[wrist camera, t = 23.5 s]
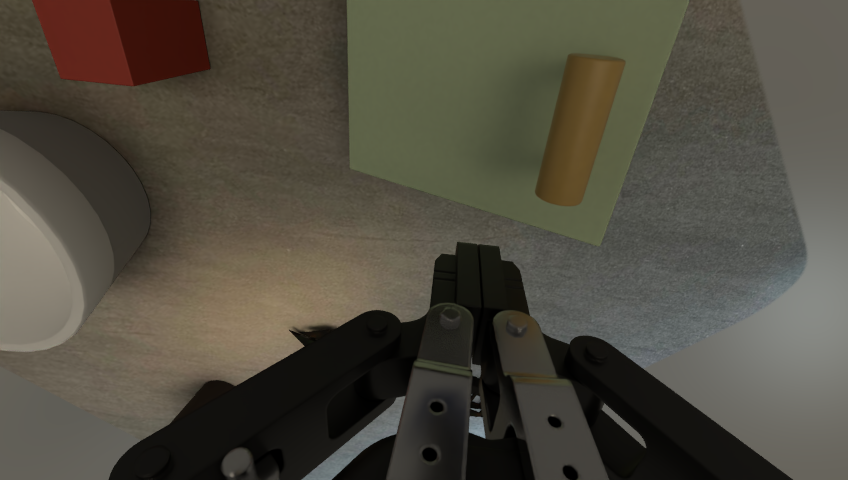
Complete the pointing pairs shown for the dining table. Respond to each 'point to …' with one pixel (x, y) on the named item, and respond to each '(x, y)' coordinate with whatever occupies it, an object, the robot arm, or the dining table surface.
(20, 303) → the bowl
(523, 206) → the lid
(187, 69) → the block
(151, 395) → the dining table surface
